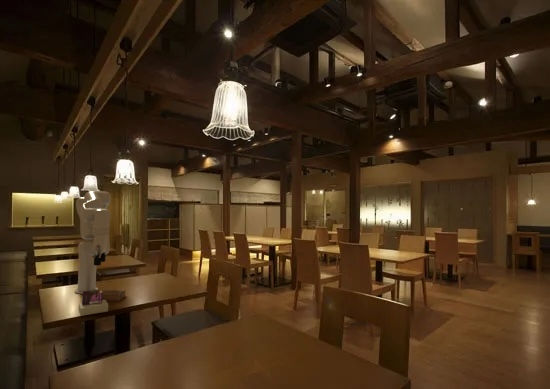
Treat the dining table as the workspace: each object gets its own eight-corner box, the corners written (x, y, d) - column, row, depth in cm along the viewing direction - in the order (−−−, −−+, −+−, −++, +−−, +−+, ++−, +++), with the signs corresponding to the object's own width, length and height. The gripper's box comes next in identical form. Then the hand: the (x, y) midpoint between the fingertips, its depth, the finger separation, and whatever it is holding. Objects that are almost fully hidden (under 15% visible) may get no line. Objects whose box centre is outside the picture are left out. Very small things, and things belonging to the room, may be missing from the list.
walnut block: (104, 296, 185) (104, 289, 185) (125, 296, 185) (125, 290, 186) (96, 301, 175) (96, 294, 175) (117, 301, 175) (118, 294, 176)
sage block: (78, 311, 159) (78, 303, 159) (104, 307, 166) (105, 299, 166) (80, 316, 151) (80, 308, 151) (107, 312, 158) (108, 304, 158)
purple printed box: (82, 291, 158) (103, 289, 162) (84, 292, 162) (103, 290, 166) (81, 305, 155) (102, 303, 159) (82, 305, 160) (102, 303, 164)
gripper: (97, 230, 176) (96, 260, 175) (88, 233, 159) (87, 266, 158) (112, 230, 178) (110, 260, 177) (105, 233, 161) (103, 266, 161)
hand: (99, 263), depth 168 cm, fingers open, 9 cm apart
